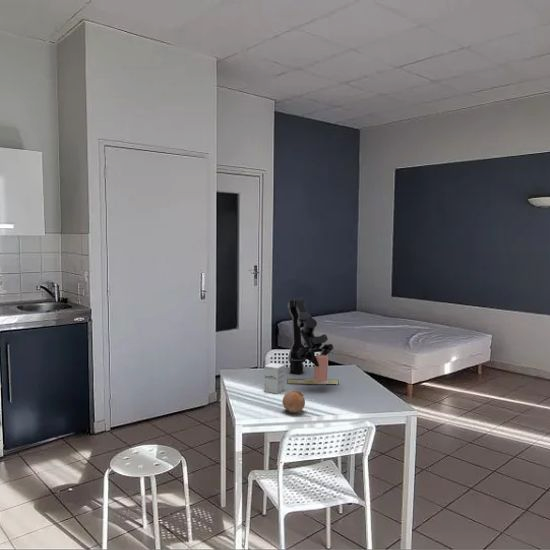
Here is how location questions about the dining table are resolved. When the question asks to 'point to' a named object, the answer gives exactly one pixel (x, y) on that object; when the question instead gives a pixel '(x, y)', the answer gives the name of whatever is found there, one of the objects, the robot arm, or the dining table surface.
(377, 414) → the dining table surface
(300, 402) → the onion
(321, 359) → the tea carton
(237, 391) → the dining table surface
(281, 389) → the supplement box
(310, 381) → the price rail
